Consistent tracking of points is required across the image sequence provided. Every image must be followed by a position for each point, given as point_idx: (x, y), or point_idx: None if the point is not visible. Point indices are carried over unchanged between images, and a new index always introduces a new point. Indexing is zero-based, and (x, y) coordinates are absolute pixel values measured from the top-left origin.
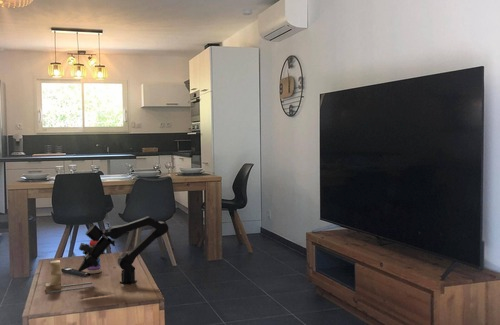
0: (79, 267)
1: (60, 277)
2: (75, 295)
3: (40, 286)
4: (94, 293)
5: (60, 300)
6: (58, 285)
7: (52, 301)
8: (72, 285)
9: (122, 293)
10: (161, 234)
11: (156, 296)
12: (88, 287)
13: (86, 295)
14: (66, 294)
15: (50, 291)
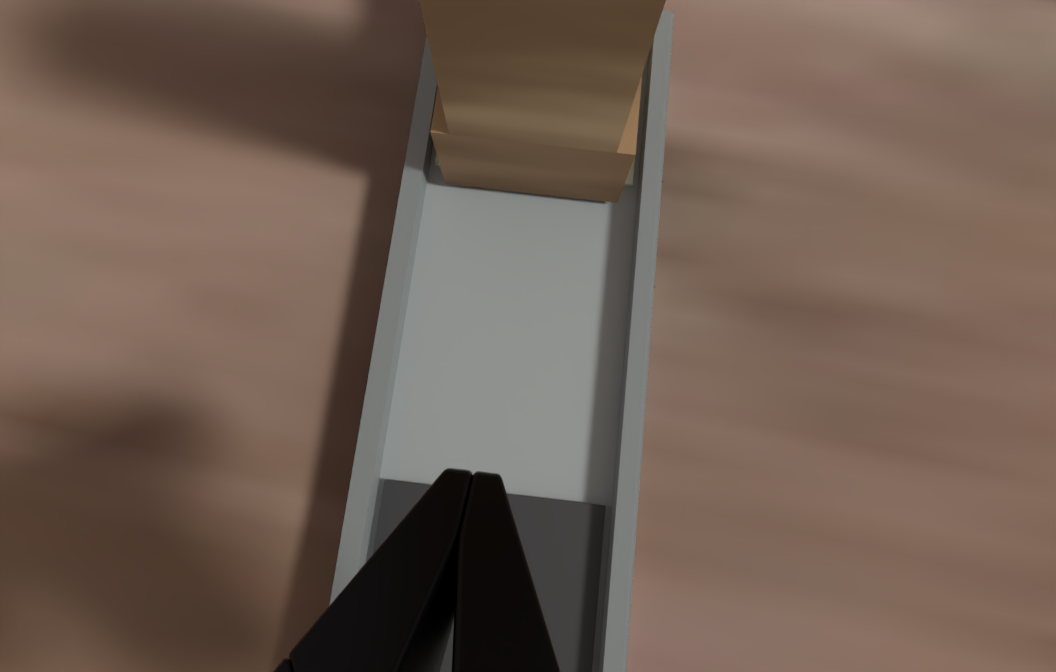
0: (512, 544)
1: (432, 40)
2: (154, 335)
3: (912, 13)
4: (53, 630)
5: (60, 113)
6: (440, 98)
7: (90, 24)
8: (624, 385)
9: None
10: None
11: None
12: None
13: (36, 482)
14: (292, 234)
15: None
